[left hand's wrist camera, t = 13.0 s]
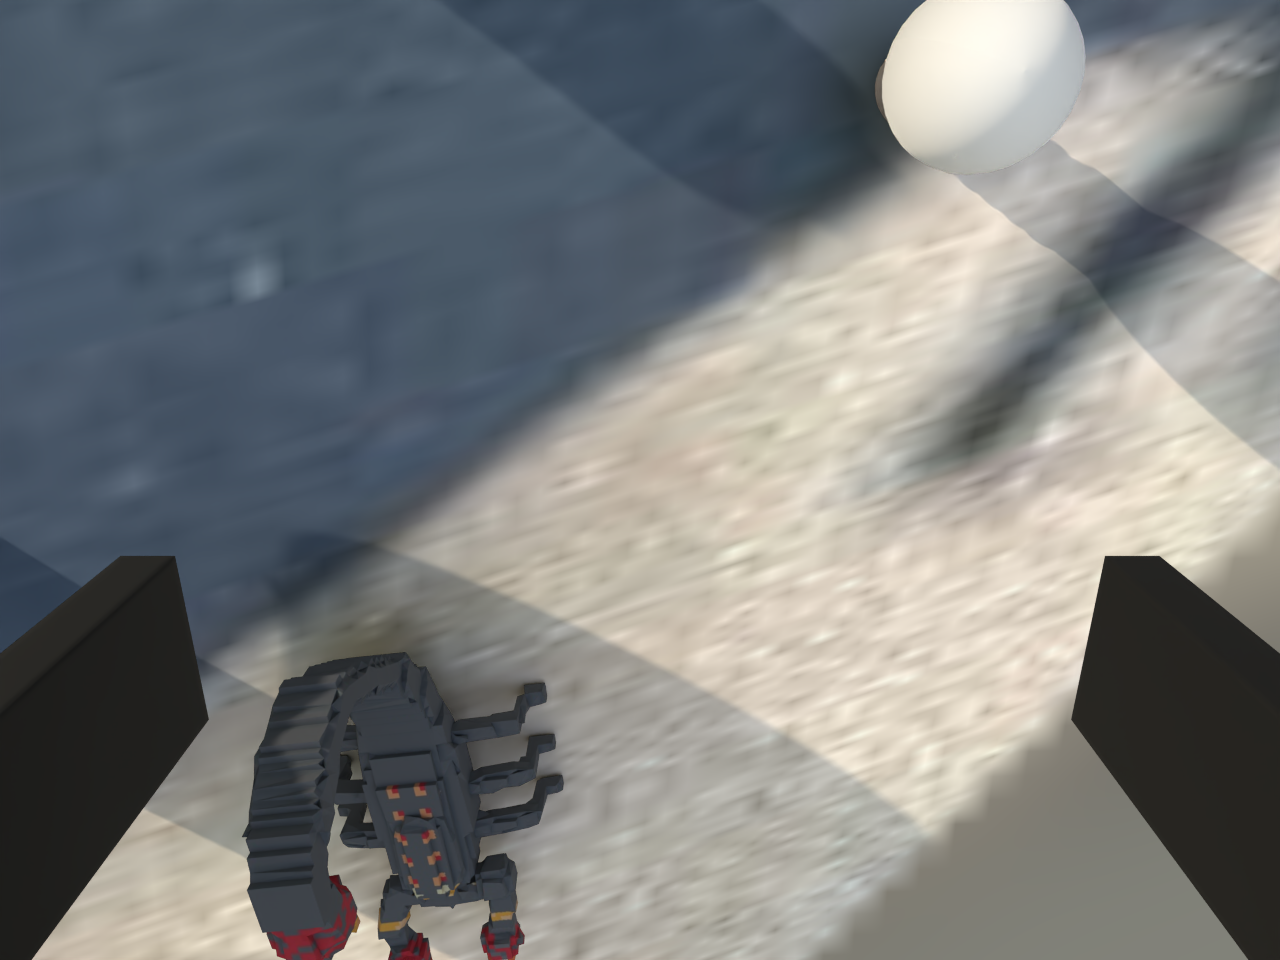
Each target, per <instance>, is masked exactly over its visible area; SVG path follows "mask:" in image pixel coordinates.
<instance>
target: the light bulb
mask: <svg viewBox="0 0 1280 960" xmlns="http://www.w3.org/2000/svg"><path fill="white" fill-rule="evenodd" d="M1084 70H1085V48H1084V39H1083V36H1082V33H1081V30H1080V27H1079V24H1078V22H1077V20H1076V18H1075V16H1074V15H1073V13H1072V11H1071V9H1070V8H1069V6H1068V5H1067V3H1066V2H1065V1H1064V0H926V1H925V2H924V3H923V4H922V5H921V6H919V7H918V8H917V9H916V10H915V11H914V12H913V13H912V14H911V16H910V17H909V18H908V19H907V20H906V22H905V23H904V24H903V25H902V27H901V29H900V30H899V32H898V34H897V36H896V37H895V39H894V41H893V43H892V45H891V48H890V51H889V54H888V56H887V59H886V60H885V61H884V63H883V64H882V66H881V68H880V70H879V72H878V75H877V78H876V83H875V96H876V101H877V105H878V107H879V109H880V111H881V113H882V115H883V117H884V118H885V119H886V120H887V121H888V123H889V125H890V127H891V130H892V132H893V134H894V135H895V137H896V138H897V140H898V141H899V143H900V144H901V146H902V147H903V148H904V149H905V150H906V151H908V152H909V153H910V154H911V155H912V156H913V157H914V158H916V159H917V160H919V161H921V162H922V163H924V164H926V165H927V166H930V167H932V168H935V169H938V170H941V171H944V172H947V173H952V174H962V175H971V174H980V173H989V172H994V171H997V170H1000V169H1004V168H1007V167H1010V166H1012V165H1013V164H1015V163H1017V162H1019V161H1021V160H1023V159H1025V158H1027V157H1028V156H1030V155H1031V154H1033V153H1034V152H1036V151H1037V150H1038V149H1039V148H1041V147H1042V146H1043V145H1045V144H1046V143H1047V142H1048V141H1049V140H1050V139H1051V138H1052V137H1053V136H1054V134H1055V133H1056V132H1057V131H1058V130H1059V129H1060V128H1061V126H1062V125H1063V123H1064V122H1065V120H1066V119H1067V117H1068V116H1069V114H1070V112H1071V110H1072V108H1073V106H1074V104H1075V101H1076V99H1077V97H1078V95H1079V92H1080V89H1081V85H1082V81H1083V77H1084Z"/></svg>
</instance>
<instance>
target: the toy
mask: <svg viewBox="0 0 1280 960" xmlns="http://www.w3.org/2000/svg"><path fill="white" fill-rule="evenodd" d="M524 690H525V694H523V695H520V696H518V697H517V700H516V704H515V708H514V711H508V712H502V713H497V714H492V715H491V716H487V717H478V718H469V719H460V720H458V721H456V722H455V721H454V719H453V717H452V715H451V713H450V711H449V709H448V708H447V706H446V704H445V703H444V701H443V700H442V698H441V697H440V696H439V694H438V692H437V689H436V687H435V684H434V682H433V680H432V678H431V676H430V674H429V672H428V670H427V668H426V667H417V666H416V664H414V663H412V661H411V659H410V658H409V657H408V655H407V654H406V652H403V653H393V654H383V655H373V656H364V657H354V658H346V659H338V660H333V661H328V662H327V663H321V664H319V665H315V666H309V668H308V669H307V671H306V672H305V674H304V675H303V677H294V678H291V679H288V680H284V681H283V682H282V684H281V686H280V687H279V693H278V695H277V698H276V700H275V702H274V704H273V707H272V711H271V715H270V719H269V723H268V726H267V730H266V734H265V737H264V740H263V741H262V743H261V745H260V746H259V749H258V751H257V753H256V754H255V756H254V783H253V789H252V796H251V803H250V810H249V824H248V826H247V828H246V830H245V832H244V834H243V836H242V837H247V839H246V843H247V845H248V848H249V851H250V854H249V856H248V858H247V862H248V866H249V870H250V885H249V887H248V889H247V892H248V894H249V897H250V900H251V902H252V905H253V908H254V911H255V913H256V916H257V919H258V922H259V924H260V927H261V930H262V933H264V932H267V936H268V939H269V942H270V944H271V947H272V949H276V952H277V956H278V957H281V958H284V959H286V960H332V958H333V955H334V954H335V953H337V952H339V951H341V950H342V949H344V947H345V945H346V942H347V940H348V938H349V936H350V934H351V933H352V932H355V933H356V932H357V929H358V926H359V924H360V920H359V917H358V915H357V906H356V904H355V902H354V899H353V897H352V894H351V892H350V891H349V889H348V888H347V887H346V886H343V885H342V883H341V879H340V876H339V875H333V876H329V873H328V868H327V866H328V851H327V845H328V843H329V840H330V831H331V827H332V823H333V819H334V815H335V810H334V803H335V804H336V805H339V806H338V811H339V815H340V816H347V817H348V818H347V820H346V822H345V825H344V827H343V829H342V832H341V834H340V837H341V840H342V842H343V844H344V845H346V846H347V847H353V848H386V851H387V855H388V858H389V862H390V865H391V869H392V872H393V874H397V873H398V874H399V875H390V879H387V880H386V883H385V886H384V890H383V899H381V908H379V920H378V938H379V939H385V940H386V942H387V943H388V944H389V946H390V948H391V950H390V954H389V958H388V960H432V957H431V953H430V947H429V940H428V938H423V933H416V932H415V931H414V930H412V929H411V928H410V927H409V926H408V921H409V918H410V916H411V915H410V908H411V906H412V905H417V904H420V905H421V907H429V906H435V907H446V906H451V907H452V908H454V906H455V905H456V904H461V903H467V902H473V901H478V900H481V899H484V901H487V900H489V906H490V912H491V913H490V916H489V922H487V923H486V924H484V925H483V926H482V931H481V937H480V939H481V943H482V947H483V951H484V953H487V955H488V960H504V959H508V960H515V956H516V955H517V954H518V947H519V945H521V944H524V937H525V935H524V934H523V932H522V931H521V929H520V924H519V923H518V922H517V919H516V914H515V912H516V909H517V904H518V901H517V896H516V891H515V889H516V881H517V870H516V866H515V862H514V861H512V860H510V859H509V858H508V857H507V855H506V853H505V854H504V853H503V854H497V855H491V856H487V857H486V858H485V860H484V861H482V862H479V863H478V859H479V854H480V848H479V843H480V839H481V837H485V836H490V835H496V834H502V833H507V832H511V831H516V830H520V829H525V828H529V827H532V826H534V825H537V824H539V822H540V819H541V815H542V812H543V809H544V805H545V802H546V799H547V795H548V794H553V793H558V792H560V791H561V790H563V785H564V782H563V777H562V775H559V776H553V777H546V778H542V779H540V780H538V781H537V784H536V788H535V791H534V795H533V798H532V799H531V800H530V801H529V802H527V803H526V804H522V805H517V806H512V807H506V808H501V809H492V810H488V811H482V810H479V807H480V803H481V801H480V797H479V794H487V793H494V792H496V791H498V790H500V789H502V788H505V787H513V786H520V785H522V784H524V783H526V782H528V781H530V780H532V779H534V778H536V772H537V766H538V760H539V754H540V753H544V752H548V751H551V750H554V749H555V746H556V740H555V735H554V734H551V735H542V736H532V737H529V742H528V748H527V753H526V756H524V757H521V758H520V761H519V762H508V763H503V764H497V765H492V766H487V767H481V768H479V769H477V770H475V771H473V767H472V763H471V759H470V756H469V752H468V749H467V745H466V742H471V741H478V740H484V739H491V738H498V737H503V736H509V735H514V734H519V733H520V730H521V726H522V723H525V714H526V712H527V711H528V709H529V708H530V707H531V706H535V705H539V704H542V703H545V702H546V700H547V692H546V687H545V683H540V684H530V685H524ZM349 716H350V718H351V719H352V721H353V722H354V723H355V725H347V723H348V719H349ZM356 749H358V753H359V760H360V765H361V770H362V776H363V780H350V779H351V776H352V771H351V761H350V759H349V758H348V756H340V752H342V751H349V750H356ZM366 804H368V808H369V811H370V815H371V818H372V822H373V823H363V819H364V816H365V812H366V808H367V806H366Z"/></svg>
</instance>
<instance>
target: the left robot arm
mask: <svg viewBox="0 0 1280 960" xmlns="http://www.w3.org/2000/svg"><path fill="white" fill-rule="evenodd" d="M208 720H209V719H208V714H207V709H206V704H205V699H204V694H203V690H202V685H201V680H200V675H199V670H198V665H197V661H196V656H195V651H194V646H193V641H192V636H191V632H190V627H189V622H188V617H187V612H186V607H185V603H184V598H183V593H182V588H181V583H180V578H179V574H178V569H177V564H176V559H175V556H120V557H119V558H118V559H116V560H115V561H114V562H113V563H111V564H110V565H109V566H108V567H106V568H105V569H104V570H103V571H102V572H100V573H99V574H98V575H97V576H95V577H94V578H93V579H92V580H90V581H89V582H88V583H87V584H85V585H84V586H83V587H82V588H81V589H79V590H78V591H77V592H76V593H74V594H73V595H72V596H71V597H69V598H68V599H67V600H66V601H65V602H63V603H62V604H61V605H60V606H58V607H57V608H56V609H55V610H53V611H52V612H51V613H50V614H48V615H47V616H46V617H45V618H44V619H42V620H41V621H40V622H39V623H37V624H36V625H35V626H34V627H32V628H31V629H30V630H29V631H28V632H26V633H25V634H24V635H23V636H21V637H20V638H19V639H18V640H16V641H15V642H14V643H13V644H11V645H10V646H9V647H8V648H7V649H5V650H4V651H3V652H2V653H0V960H32V958H33V957H34V956H35V954H36V953H37V952H38V950H39V949H40V948H41V946H42V945H43V944H44V942H45V941H46V939H47V938H48V937H49V935H50V934H51V933H52V931H53V930H54V929H55V927H56V926H57V925H58V923H59V922H60V921H61V919H62V918H63V916H64V915H65V914H66V912H67V911H68V910H69V908H70V907H71V906H72V904H73V903H74V902H75V900H76V899H77V897H78V896H79V895H80V893H81V892H82V891H83V889H84V888H85V887H86V885H87V884H88V883H89V881H90V880H91V878H92V877H93V876H94V874H95V873H96V872H97V870H98V869H99V868H100V866H101V865H102V864H103V862H104V861H105V860H106V858H107V857H108V855H109V854H110V853H111V851H112V850H113V849H114V847H115V846H116V845H117V843H118V842H119V841H120V839H121V838H122V836H123V835H124V834H125V832H126V831H127V830H128V828H129V827H130V826H131V824H132V823H133V822H134V820H135V819H136V817H137V816H138V815H139V813H140V812H141V811H142V809H143V808H144V807H145V805H146V804H147V803H148V801H149V800H150V798H151V797H152V796H153V794H154V793H155V792H156V790H157V789H158V788H159V786H160V785H161V784H162V782H163V781H164V780H165V778H166V777H167V775H168V774H169V773H170V771H171V770H172V769H173V767H174V766H175V765H176V763H177V762H178V761H179V759H180V758H181V756H182V755H183V754H184V752H185V751H186V750H187V748H188V747H189V746H190V744H191V743H192V742H193V740H194V739H195V737H196V736H197V735H198V733H199V732H200V731H201V729H202V728H203V727H204V725H205V724H206V723H207V721H208ZM1071 720H1072V721H1073V723H1074V724H1075V725H1076V727H1077V728H1078V729H1079V731H1080V732H1081V733H1082V735H1083V736H1084V737H1085V739H1086V740H1087V742H1088V743H1089V744H1090V746H1091V747H1092V748H1093V750H1094V751H1095V752H1096V754H1097V755H1098V756H1099V758H1100V759H1101V761H1102V762H1103V763H1104V765H1105V766H1106V767H1107V769H1108V770H1109V771H1110V773H1111V774H1112V775H1113V777H1114V778H1115V780H1116V781H1117V782H1118V784H1119V785H1120V786H1121V788H1122V789H1123V790H1124V792H1125V793H1126V794H1127V796H1128V797H1129V799H1130V800H1131V801H1132V803H1133V804H1134V805H1135V807H1136V808H1137V809H1138V811H1139V812H1140V813H1141V815H1142V816H1143V817H1144V819H1145V820H1146V822H1147V823H1148V824H1149V826H1150V827H1151V828H1152V830H1153V831H1154V832H1155V834H1156V835H1157V836H1158V838H1159V839H1160V840H1161V842H1162V843H1163V845H1164V846H1165V847H1166V849H1167V850H1168V851H1169V853H1170V854H1171V855H1172V857H1173V858H1174V860H1175V861H1176V862H1177V864H1178V865H1179V866H1180V868H1181V869H1182V870H1183V872H1184V873H1185V874H1186V876H1187V877H1188V878H1189V880H1190V881H1191V883H1192V884H1193V885H1194V887H1195V888H1196V889H1197V891H1198V892H1199V893H1200V895H1201V896H1202V897H1203V899H1204V900H1205V902H1206V903H1207V904H1208V906H1209V907H1210V908H1211V910H1212V911H1213V912H1214V914H1215V915H1216V916H1217V918H1218V919H1219V921H1220V922H1221V923H1222V925H1223V926H1224V927H1225V929H1226V930H1227V931H1228V933H1229V934H1230V935H1231V937H1232V938H1233V939H1234V941H1235V942H1236V944H1237V945H1238V946H1239V948H1240V949H1241V950H1242V952H1243V953H1244V954H1245V956H1246V957H1247V958H1248V960H1280V653H1278V652H1277V651H1276V650H1275V649H1273V648H1272V647H1271V646H1270V645H1269V644H1267V643H1266V642H1265V641H1264V640H1262V639H1261V638H1260V637H1259V636H1257V635H1256V634H1255V633H1254V632H1252V631H1251V630H1250V629H1249V628H1248V627H1246V626H1245V625H1244V624H1243V623H1241V622H1240V621H1239V620H1238V619H1236V618H1235V617H1234V616H1233V615H1232V614H1230V613H1229V612H1228V611H1227V610H1225V609H1224V608H1223V607H1222V606H1220V605H1219V604H1218V603H1217V602H1215V601H1214V600H1213V599H1212V598H1211V597H1209V596H1208V595H1207V594H1206V593H1204V592H1203V591H1202V590H1201V589H1199V588H1198V587H1197V586H1196V585H1195V584H1193V583H1192V582H1191V581H1190V580H1188V579H1187V578H1186V577H1185V576H1183V575H1182V574H1181V573H1180V572H1178V571H1177V570H1176V569H1175V568H1174V567H1172V566H1171V565H1170V564H1169V563H1167V562H1166V561H1165V560H1164V559H1162V558H1161V557H1160V556H1105V559H1104V564H1103V569H1102V574H1101V578H1100V583H1099V588H1098V593H1097V598H1096V603H1095V607H1094V612H1093V617H1092V622H1091V627H1090V632H1089V636H1088V641H1087V646H1086V651H1085V656H1084V661H1083V665H1082V670H1081V675H1080V680H1079V685H1078V690H1077V694H1076V699H1075V704H1074V709H1073V714H1072V719H1071Z"/></svg>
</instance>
